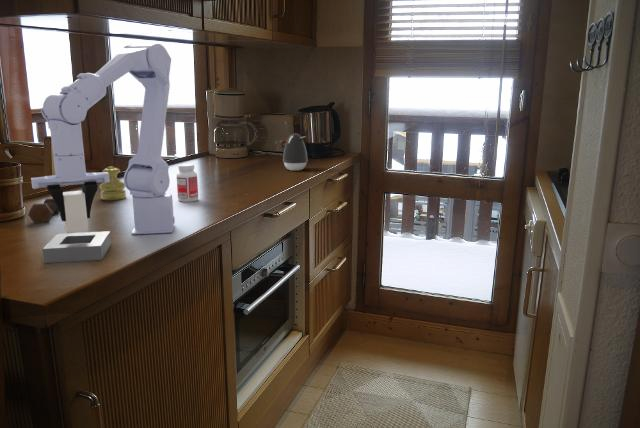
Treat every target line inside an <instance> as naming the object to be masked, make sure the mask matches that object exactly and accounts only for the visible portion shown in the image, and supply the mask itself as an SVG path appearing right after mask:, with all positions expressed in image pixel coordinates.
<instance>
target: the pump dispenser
mask: <svg viewBox="0 0 640 428" xmlns="http://www.w3.org/2000/svg"><path fill="white" fill-rule="evenodd" d="M307 138H308V137H307V135H305V136H301V135H300V134H299V133H291V134H290V135H289V137H288V138H287V140H286V143H285V146H284V149H283V156H282V162H283V164H284V167H285V168H286V169H287V170H289V171H292V172H293V171H294V172H296V171H297V172H299V171H302V170H303V169H305V168H306V166H307V163H308V152H307V147H306V144H305V141H304V140H305V139H307Z"/></svg>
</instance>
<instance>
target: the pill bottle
mask: <svg viewBox="0 0 640 428" xmlns="http://www.w3.org/2000/svg"><path fill="white" fill-rule="evenodd" d="M177 168H178V172H177V173H176V190H177V200H178V201H179V202H181V201H182V202H181V203H191V202H192V203H193V202H196V201H198V200H199V184H198V174H197V172H196V171H195V164H194V163H184V164H183V163H182V164H178V167H177Z"/></svg>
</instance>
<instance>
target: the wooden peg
mask: <svg viewBox="0 0 640 428" xmlns="http://www.w3.org/2000/svg"><path fill="white" fill-rule="evenodd" d="M63 203H64V210H65V215H66V221H63V222H64V223H63V224H64V230H65V233H68V234H69V233H85V232H89V222H88V218H87V211H86V201H85V194H84V193H83V191H82V190H72V191H63Z"/></svg>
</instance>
